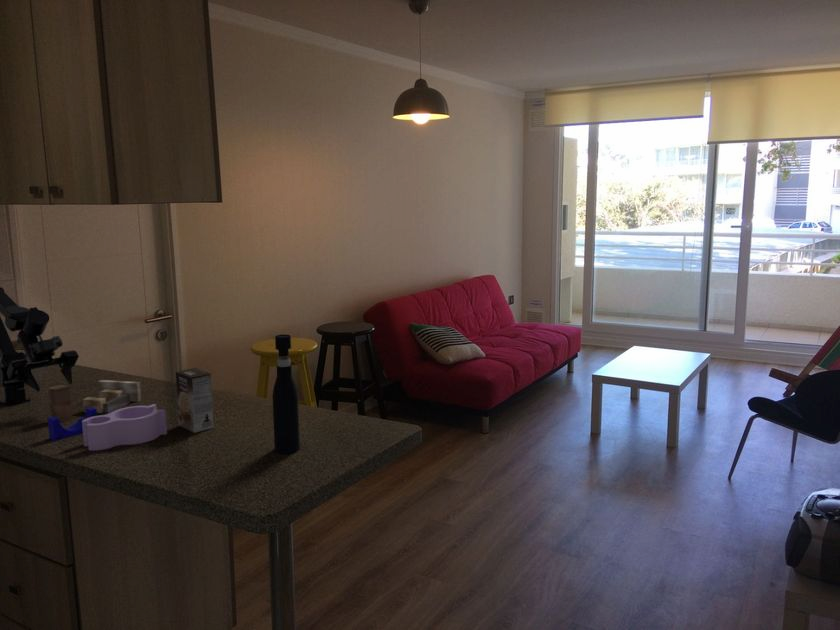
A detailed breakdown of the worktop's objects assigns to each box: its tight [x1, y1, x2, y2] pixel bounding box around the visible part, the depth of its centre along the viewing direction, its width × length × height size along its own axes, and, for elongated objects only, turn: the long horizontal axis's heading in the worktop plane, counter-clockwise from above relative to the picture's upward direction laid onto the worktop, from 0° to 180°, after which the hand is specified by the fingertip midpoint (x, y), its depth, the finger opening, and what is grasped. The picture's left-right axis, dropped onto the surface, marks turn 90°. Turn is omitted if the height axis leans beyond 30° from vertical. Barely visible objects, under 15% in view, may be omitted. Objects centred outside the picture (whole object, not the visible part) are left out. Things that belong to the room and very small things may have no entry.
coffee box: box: [175, 367, 214, 434], centre depth 192 cm, size 9×6×16 cm
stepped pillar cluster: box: [82, 379, 142, 415], centre depth 213 cm, size 14×14×6 cm
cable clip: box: [47, 407, 98, 442], centre depth 188 cm, size 12×4×6 cm, turn 144°
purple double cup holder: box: [82, 403, 168, 451], centre depth 184 cm, size 20×12×7 cm, turn 133°
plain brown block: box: [47, 384, 73, 424], centre depth 199 cm, size 4×4×10 cm
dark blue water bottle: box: [271, 334, 301, 455], centre depth 174 cm, size 6×6×30 cm
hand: (55, 386), depth 199 cm, fingers open, 9 cm apart
